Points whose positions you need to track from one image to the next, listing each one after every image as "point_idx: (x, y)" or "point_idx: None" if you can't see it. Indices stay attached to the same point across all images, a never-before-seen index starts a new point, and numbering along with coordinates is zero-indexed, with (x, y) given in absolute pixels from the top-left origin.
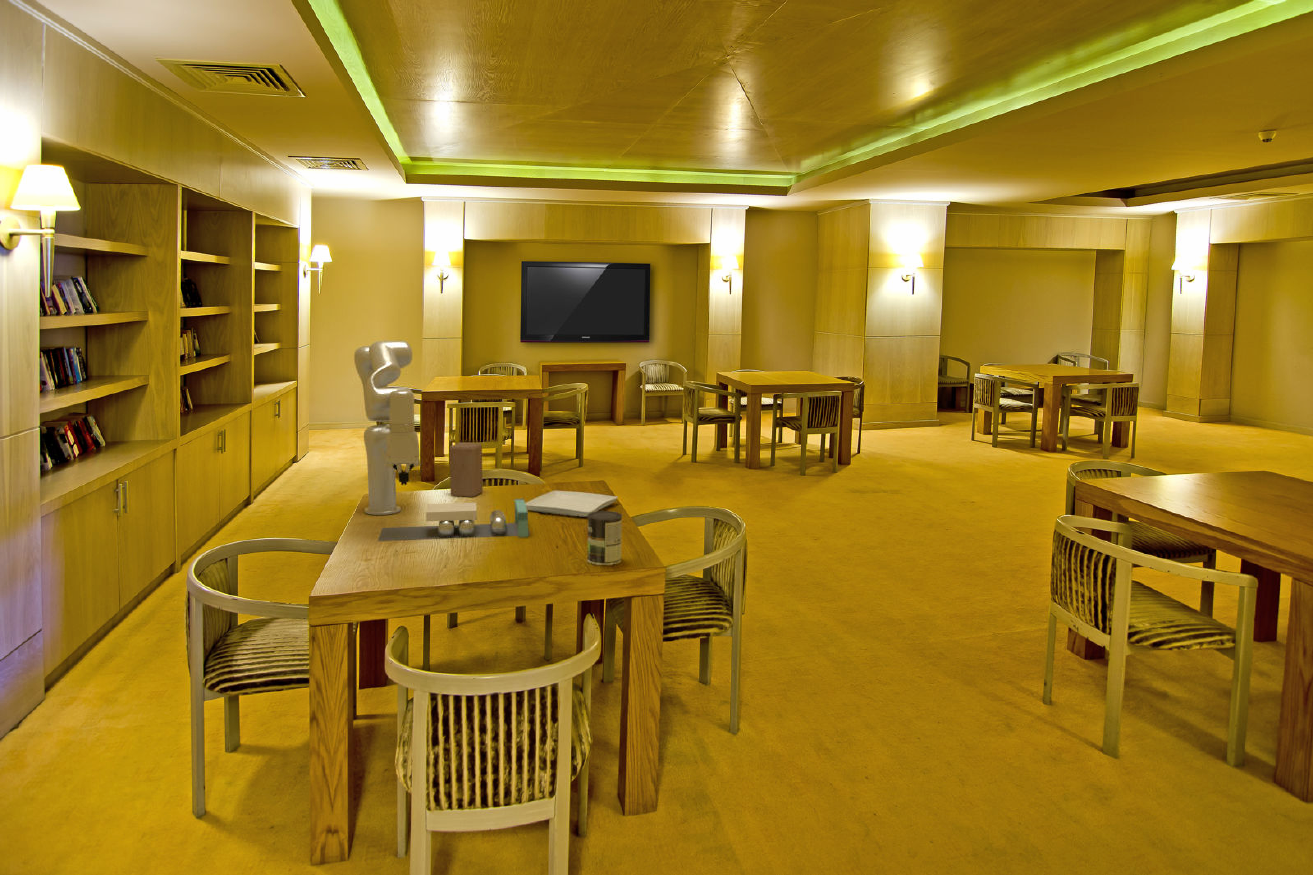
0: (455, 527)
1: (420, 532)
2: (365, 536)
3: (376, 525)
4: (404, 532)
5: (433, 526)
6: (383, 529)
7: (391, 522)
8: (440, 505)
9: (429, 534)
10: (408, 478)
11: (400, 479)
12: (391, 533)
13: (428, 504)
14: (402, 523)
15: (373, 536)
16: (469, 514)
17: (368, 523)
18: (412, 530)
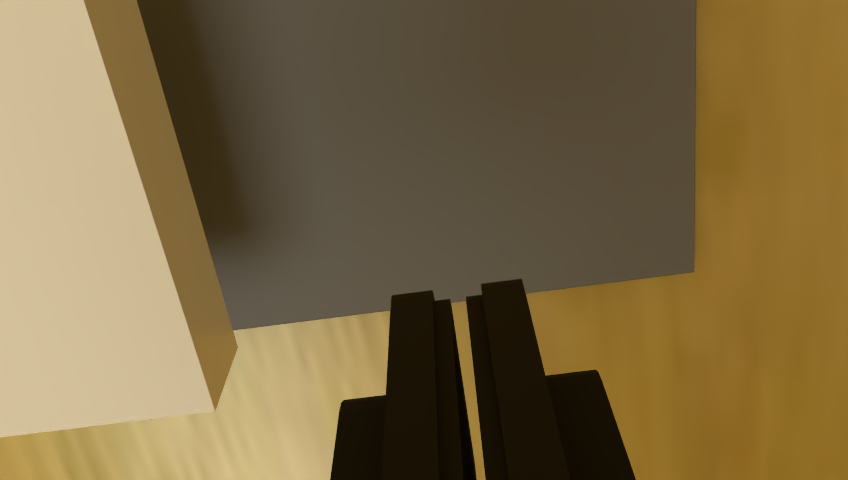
0: None
1: (294, 103)
2: (838, 8)
3: (750, 387)
4: (456, 103)
5: (231, 314)
6: (678, 217)
7: (633, 470)
8: (20, 349)
9: (177, 19)
10: (336, 447)
11: (565, 402)
12: (582, 64)
13: (195, 397)
14: None
15: (757, 7)
16: None
17: (820, 443)
18: (393, 179)
